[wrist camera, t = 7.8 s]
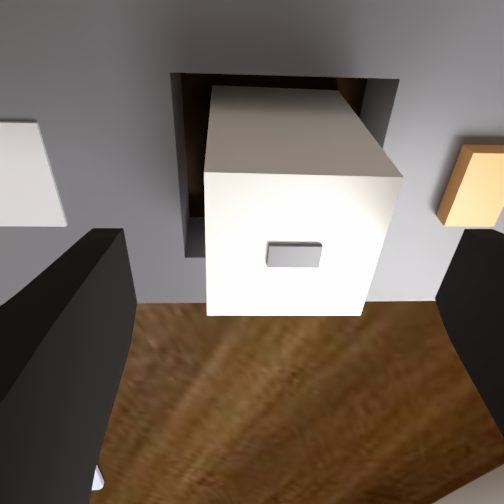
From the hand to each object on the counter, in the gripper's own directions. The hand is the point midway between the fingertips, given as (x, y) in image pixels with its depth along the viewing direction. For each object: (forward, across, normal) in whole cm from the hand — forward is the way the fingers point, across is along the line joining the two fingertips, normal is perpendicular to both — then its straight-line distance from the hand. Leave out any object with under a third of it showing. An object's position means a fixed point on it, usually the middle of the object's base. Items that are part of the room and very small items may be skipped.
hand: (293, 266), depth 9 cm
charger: (+6, 0, 0) cm, 7 cm away
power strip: (+6, +6, 0) cm, 9 cm away
